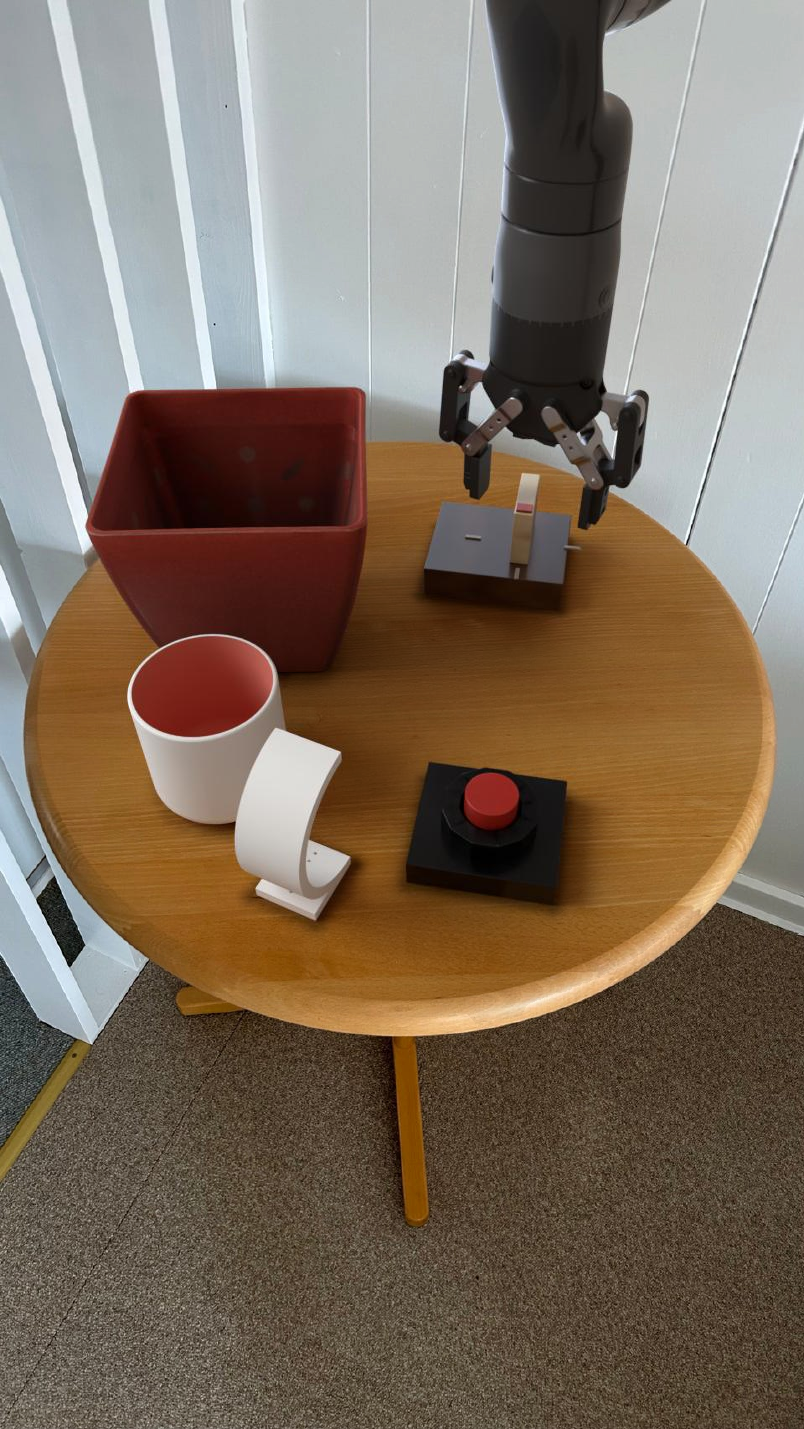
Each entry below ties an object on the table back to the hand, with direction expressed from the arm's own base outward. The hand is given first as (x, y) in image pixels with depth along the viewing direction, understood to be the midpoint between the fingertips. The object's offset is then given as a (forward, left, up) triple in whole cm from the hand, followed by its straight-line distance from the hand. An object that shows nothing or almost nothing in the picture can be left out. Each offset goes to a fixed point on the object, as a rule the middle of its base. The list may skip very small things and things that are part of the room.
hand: (531, 508), depth 72 cm
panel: (+3, -10, -14) cm, 17 cm away
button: (0, +20, -10) cm, 23 cm away
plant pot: (+22, +1, -14) cm, 26 cm away
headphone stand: (+12, +26, -14) cm, 32 cm away
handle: (+1, -10, -11) cm, 14 cm away
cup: (+20, +18, -14) cm, 30 cm away
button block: (0, +20, -14) cm, 25 cm away
